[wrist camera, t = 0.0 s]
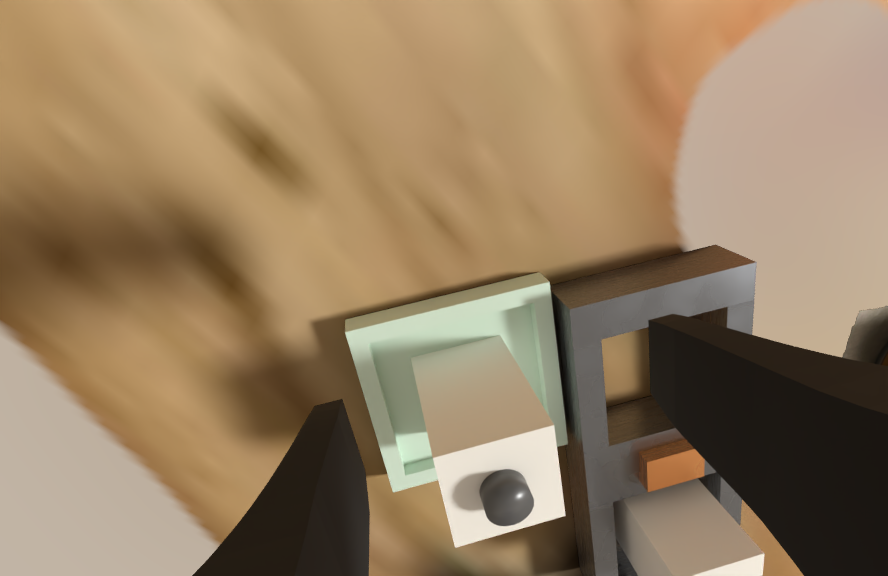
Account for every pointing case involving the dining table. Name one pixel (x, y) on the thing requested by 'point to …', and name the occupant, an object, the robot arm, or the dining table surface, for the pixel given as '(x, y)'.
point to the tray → (440, 327)
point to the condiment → (869, 337)
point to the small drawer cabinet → (640, 421)
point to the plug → (488, 441)
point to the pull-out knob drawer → (684, 534)
